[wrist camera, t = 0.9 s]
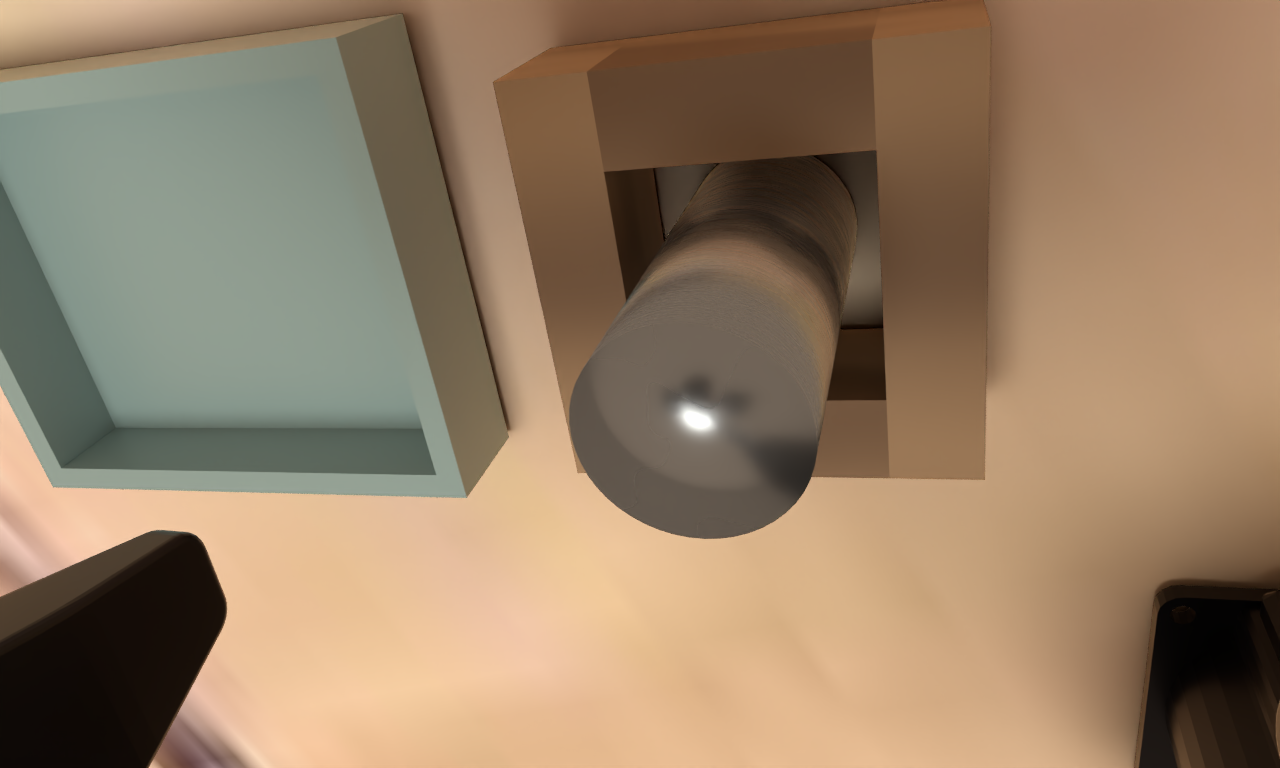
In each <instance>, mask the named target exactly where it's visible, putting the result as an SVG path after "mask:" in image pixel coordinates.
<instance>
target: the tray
mask: <svg viewBox="0 0 1280 768" xmlns="http://www.w3.org/2000/svg"><path fill="white" fill-rule="evenodd" d="M0 386H1V388H2V390H3V392H4V394H5V396H6V398H7V399H8V401H9V403H10V405H11V407H12V409H13V411H14V413H15V415H16V417H17V419H18V421H19V423H20V425H21V426H22V428H23V430H24V432H25V434H26V436H27V438H28V440H29V442H30V444H31V446H32V448H33V450H34V451H35V453H36V455H37V457H38V459H39V461H40V463H41V465H42V467H43V469H44V471H45V473H46V475H47V477H48V478H49V480H50V482H51V484H52V486H53V487H64V488H103V489H142V490H181V491H220V492H259V493H298V494H337V495H375V496H414V497H453V498H467V497H468V495H469V494H470V492H471V491H472V490H473V488H474V487H475V485H476V484H477V482H478V481H479V479H480V478H481V476H482V475H483V474H484V472H485V471H486V469H487V468H488V466H489V465H490V463H491V462H492V461H493V459H494V458H495V456H496V455H497V453H498V452H499V450H500V449H501V448H502V446H503V445H504V443H505V442H506V440H507V439H508V437H509V435H508V431H507V427H506V424H505V420H504V416H503V412H502V408H501V404H500V400H499V396H498V392H497V388H496V384H495V380H494V376H493V372H492V368H491V364H490V360H489V356H488V352H487V348H486V344H485V340H484V336H483V332H482V328H481V324H480V320H479V316H478V312H477V308H476V304H475V300H474V296H473V292H472V288H471V284H470V280H469V276H468V272H467V268H466V264H465V260H464V256H463V252H462V248H461V244H460V240H459V236H458V233H457V229H456V225H455V221H454V217H453V213H452V209H451V205H450V201H449V197H448V193H447V189H446V185H445V181H444V177H443V173H442V169H441V165H440V161H439V157H438V153H437V149H436V145H435V141H434V137H433V133H432V129H431V125H430V121H429V117H428V113H427V109H426V105H425V101H424V97H423V93H422V89H421V85H420V81H419V77H418V73H417V69H416V65H415V61H414V57H413V53H412V49H411V46H410V42H409V38H408V34H407V30H406V26H405V22H404V18H403V14H395V15H388V16H381V17H374V18H366V19H359V20H352V21H345V22H338V23H331V24H323V25H316V26H309V27H302V28H295V29H288V30H281V31H273V32H266V33H259V34H252V35H245V36H238V37H230V38H223V39H216V40H209V41H202V42H195V43H187V44H180V45H173V46H166V47H159V48H152V49H145V50H137V51H130V52H123V53H116V54H109V55H102V56H94V57H87V58H80V59H73V60H66V61H59V62H51V63H44V64H37V65H30V66H23V67H16V68H9V69H1V70H0Z"/></svg>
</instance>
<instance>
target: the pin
mask: <svg viewBox="0 0 1280 768" xmlns="http://www.w3.org/2000/svg"><path fill="white" fill-rule="evenodd" d="M856 238H857V218H856V212H855V208H854V204H853V201H852V199H851V197H850V194H849V192H848V190H847V189H846V187H845V185H844V184H843V182H842V181H841V180H840V179H839V177H838V176H837V175H836V174H835V173H834V172H833V171H832V170H831V169H830V168H829V167H828V166H826V165H825V164H824V163H822V162H821V161H820V160H818V159H816V158H814V157H813V156H811V155H809V156H796V157H784V158H771V159H759V160H746V161H734V162H721V163H720V164H719V165H718V166H716V167H715V168H714V169H713V170H712V171H711V172H710V173H709V174H708V175H707V177H706V178H705V180H704V181H703V182H702V184H701V185H700V187H699V188H698V190H697V192H696V193H695V195H694V196H693V198H692V199H691V201H690V202H689V204H688V206H687V207H686V209H685V210H684V212H683V213H682V215H681V216H680V218H679V220H678V221H677V223H676V224H675V226H674V227H673V229H672V230H671V232H670V234H669V235H668V237H667V238H666V240H665V241H664V243H663V245H662V246H661V248H660V249H659V251H658V252H657V254H656V255H655V257H654V259H653V260H652V262H651V263H650V265H649V266H648V268H647V269H646V271H645V273H644V274H643V276H642V277H641V279H640V280H639V282H638V283H637V285H636V287H635V288H634V290H633V291H632V293H631V294H630V296H629V297H628V299H627V301H626V302H625V304H624V305H623V307H622V308H621V310H620V312H619V313H618V315H617V316H616V318H615V319H614V321H613V322H612V324H611V326H610V327H609V329H608V330H607V332H606V333H605V335H604V336H603V338H602V340H601V341H600V343H599V344H598V346H597V347H596V349H595V350H594V352H593V354H592V355H591V357H590V358H589V360H588V361H587V363H586V364H585V366H584V368H583V369H582V371H581V373H580V375H579V377H578V379H577V381H576V383H575V386H574V389H573V392H572V395H571V400H570V407H569V426H570V433H571V438H572V442H573V445H574V448H575V451H576V454H577V456H578V458H579V460H580V463H581V465H582V466H583V468H584V470H585V471H586V473H587V475H588V476H589V478H590V479H591V480H592V481H593V483H594V484H595V485H596V487H597V488H598V489H599V490H600V491H601V492H602V493H603V494H604V495H605V496H606V497H607V498H608V499H609V500H610V501H611V502H612V503H614V504H615V505H616V506H617V507H618V508H620V509H621V510H623V511H624V512H626V513H627V514H629V515H630V516H632V517H633V518H635V519H637V520H639V521H641V522H643V523H644V524H647V525H649V526H651V527H654V528H656V529H659V530H662V531H665V532H668V533H671V534H675V535H680V536H685V537H692V538H703V539H714V538H727V537H734V536H739V535H743V534H747V533H750V532H753V531H755V530H758V529H760V528H763V527H765V526H766V525H768V524H770V523H772V522H774V521H775V520H777V519H778V518H779V517H781V516H782V515H783V514H785V513H786V512H787V511H788V510H789V509H790V508H791V507H792V506H793V505H794V504H795V503H796V502H797V501H798V499H799V498H800V497H801V495H802V494H803V493H804V491H805V489H806V487H807V485H808V483H809V481H810V479H811V476H812V473H813V470H814V467H815V462H816V457H817V451H818V446H819V440H820V435H821V430H822V424H823V419H824V413H825V408H826V402H827V397H828V391H829V386H830V381H831V375H832V370H833V364H834V359H835V353H836V348H837V342H838V337H839V332H840V326H841V321H842V315H843V310H844V304H845V299H846V293H847V288H848V283H849V277H850V272H851V266H852V261H853V255H854V250H855V244H856Z"/></svg>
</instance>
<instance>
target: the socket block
mask: <svg viewBox="0 0 1280 768" xmlns="http://www.w3.org/2000/svg"><path fill="white" fill-rule="evenodd" d="M990 68H991V24H990V21H989V17H988V14H987V10H986V7H985V3H984V0H942V1H934V2H926V3H917V4H909V5H901V6H893V7H884V8H876V9H868V10H860V11H852V12H843V13H835V14H827V15H819V16H810V17H802V18H794V19H786V20H778V21H769V22H761V23H753V24H745V25H736V26H728V27H720V28H712V29H704V30H695V31H687V32H679V33H671V34H663V35H654V36H646V37H638V38H630V39H621V40H613V41H605V42H597V43H589V44H580V45H572V46H564V47H556V48H550V49H548V50H547V51H545V52H543V53H542V54H540V55H538V56H537V57H535V58H533V59H531V60H530V61H528V62H526V63H525V64H523V65H521V66H520V67H518V68H516V69H514V70H513V71H511V72H509V73H508V74H506V75H504V76H503V77H501V78H499V79H497V80H496V81H494V82H493V85H494V89H495V94H496V99H497V103H498V108H499V112H500V117H501V122H502V126H503V131H504V135H505V140H506V145H507V149H508V154H509V158H510V163H511V168H512V172H513V177H514V181H515V186H516V191H517V195H518V200H519V204H520V209H521V214H522V218H523V223H524V227H525V232H526V237H527V241H528V246H529V250H530V255H531V260H532V264H533V269H534V273H535V278H536V283H537V287H538V292H539V296H540V301H541V306H542V310H543V315H544V319H545V324H546V329H547V333H548V338H549V342H550V347H551V352H552V356H553V361H554V365H555V370H556V375H557V379H558V384H559V388H560V393H561V398H562V402H563V407H564V411H565V416H566V421H567V425H568V430H569V434H570V439H571V444H572V448H573V453H574V457H575V462H576V467H577V471H578V473H586V471H585V470H584V468H583V466H582V465H581V463H580V460H579V458H578V456H577V454H576V451H575V448H574V445H573V442H572V438H571V433H570V426H569V407H570V400H571V395H572V392H573V389H574V386H575V383H576V381H577V379H578V377H579V375H580V373H581V371H582V369H583V368H584V366H585V364H586V363H587V361H588V360H589V358H590V357H591V355H592V354H593V352H594V350H595V349H596V347H597V346H598V344H599V343H600V341H601V340H602V338H603V336H604V335H605V333H606V332H607V330H608V329H609V327H610V326H611V324H612V322H613V321H614V319H615V318H616V316H617V315H618V313H619V312H620V310H621V308H622V307H623V305H624V304H625V302H626V301H627V299H628V297H629V296H630V294H631V293H632V291H633V290H634V288H635V287H636V285H637V283H638V282H639V280H640V279H641V277H642V276H643V274H644V273H645V271H646V269H647V268H648V266H649V265H650V263H651V262H652V260H653V259H654V257H655V255H656V254H657V252H658V251H659V249H660V248H661V246H662V245H663V243H664V240H663V234H662V227H661V220H660V213H659V207H658V200H657V193H656V187H655V180H654V173H653V168H658V167H671V166H683V165H696V164H708V163H721V162H734V161H746V160H759V159H771V158H784V157H796V156H809V155H821V154H834V153H846V152H859V151H871V150H876V153H877V178H878V203H879V228H880V252H881V277H882V302H883V326H884V328H881V329H845V330H840V332H839V337H838V342H837V348H836V353H835V359H834V364H833V370H832V375H831V381H830V386H829V391H828V397H827V402H826V408H825V413H824V419H823V424H822V430H821V435H820V440H819V446H818V451H817V457H816V462H815V467H814V470H813V473H812V476H811V477H850V478H910V479H970V480H985V431H986V359H987V286H988V214H989V141H990Z"/></svg>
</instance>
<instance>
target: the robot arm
mask: <svg viewBox="0 0 1280 768" xmlns="http://www.w3.org/2000/svg"><path fill="white" fill-rule="evenodd" d="M1181 606H1186V607H1190V608H1189V609H1187V610H1185V611H1181V612H1176V611H1172V610H1173V609H1175V608H1176V607H1181ZM226 615H227V602H226V598H225V595H224V593H223V590H222V588H221V585H220V583H219V580H218V578H217V575H216V572H215V570H214V567H213V565H212V562H211V560H210V557H209V555H208V552H207V550H206V547H205V546H204V544H203V542H202V541H201V540H200V539H199V538H198V537H197V536H196V535H194V534H191V533H188V532H178V531H166V530H156V531H151V532H148V533H145V534H143V535H140V536H138V537H136V538H134V539H131V540H129V541H127V542H124V543H122V544H120V545H118V546H115V547H113V548H111V549H109V550H106V551H104V552H102V553H99V554H97V555H95V556H93V557H90V558H88V559H86V560H83V561H81V562H79V563H77V564H74V565H72V566H70V567H67V568H65V569H63V570H61V571H58V572H56V573H54V574H51V575H49V576H47V577H45V578H42V579H40V580H38V581H35V582H33V583H31V584H29V585H26V586H24V587H22V588H19V589H17V590H15V591H13V592H10V593H8V594H6V595H3V596H1V597H0V768H149V766H150V764H151V762H152V761H153V759H154V757H155V755H156V753H157V752H158V750H159V748H160V746H161V744H162V742H163V740H164V739H165V737H166V735H167V733H168V731H169V729H170V727H171V725H172V723H173V721H174V720H175V718H176V716H177V714H178V712H179V710H180V708H181V706H182V704H183V702H184V701H185V699H186V697H187V695H188V693H189V691H190V689H191V687H192V685H193V683H194V682H195V680H196V678H197V676H198V674H199V672H200V670H201V668H202V666H203V665H204V663H205V661H206V659H207V657H208V655H209V653H210V651H211V649H212V647H213V646H214V644H215V642H216V640H217V638H218V636H219V634H220V632H221V630H222V628H223V626H224V623H225V620H226ZM1134 768H1280V590H1275V589H1252V588H1230V587H1207V586H1185V585H1180V586H1171V587H1168V588H1166V589H1163V590H1162V591H1161V592H1160V593H1158V594H1157V595H1156V598H1155V600H1154V605H1153V614H1152V622H1151V631H1150V639H1149V647H1148V656H1147V664H1146V673H1145V681H1144V690H1143V698H1142V707H1141V715H1140V723H1139V732H1138V740H1137V749H1136V757H1135V766H1134Z"/></svg>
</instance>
